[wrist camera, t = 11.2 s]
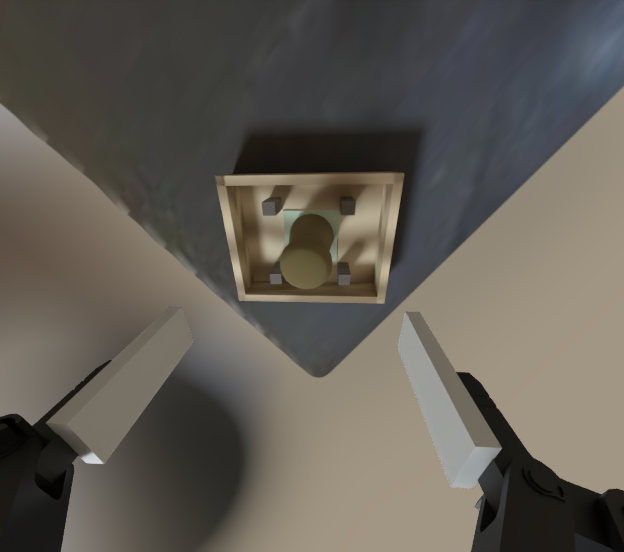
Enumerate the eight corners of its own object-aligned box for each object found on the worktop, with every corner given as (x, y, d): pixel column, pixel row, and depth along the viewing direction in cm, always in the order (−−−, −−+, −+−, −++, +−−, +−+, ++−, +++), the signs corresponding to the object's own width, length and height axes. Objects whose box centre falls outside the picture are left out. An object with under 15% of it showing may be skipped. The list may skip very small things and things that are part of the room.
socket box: (232, 174, 28) (214, 176, 24) (391, 171, 27) (404, 173, 23) (250, 283, 36) (239, 300, 31) (376, 285, 34) (384, 303, 30)
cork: (282, 222, 29) (261, 251, 20) (325, 207, 28) (326, 230, 19) (298, 261, 32) (286, 305, 22) (338, 249, 31) (345, 290, 21)
